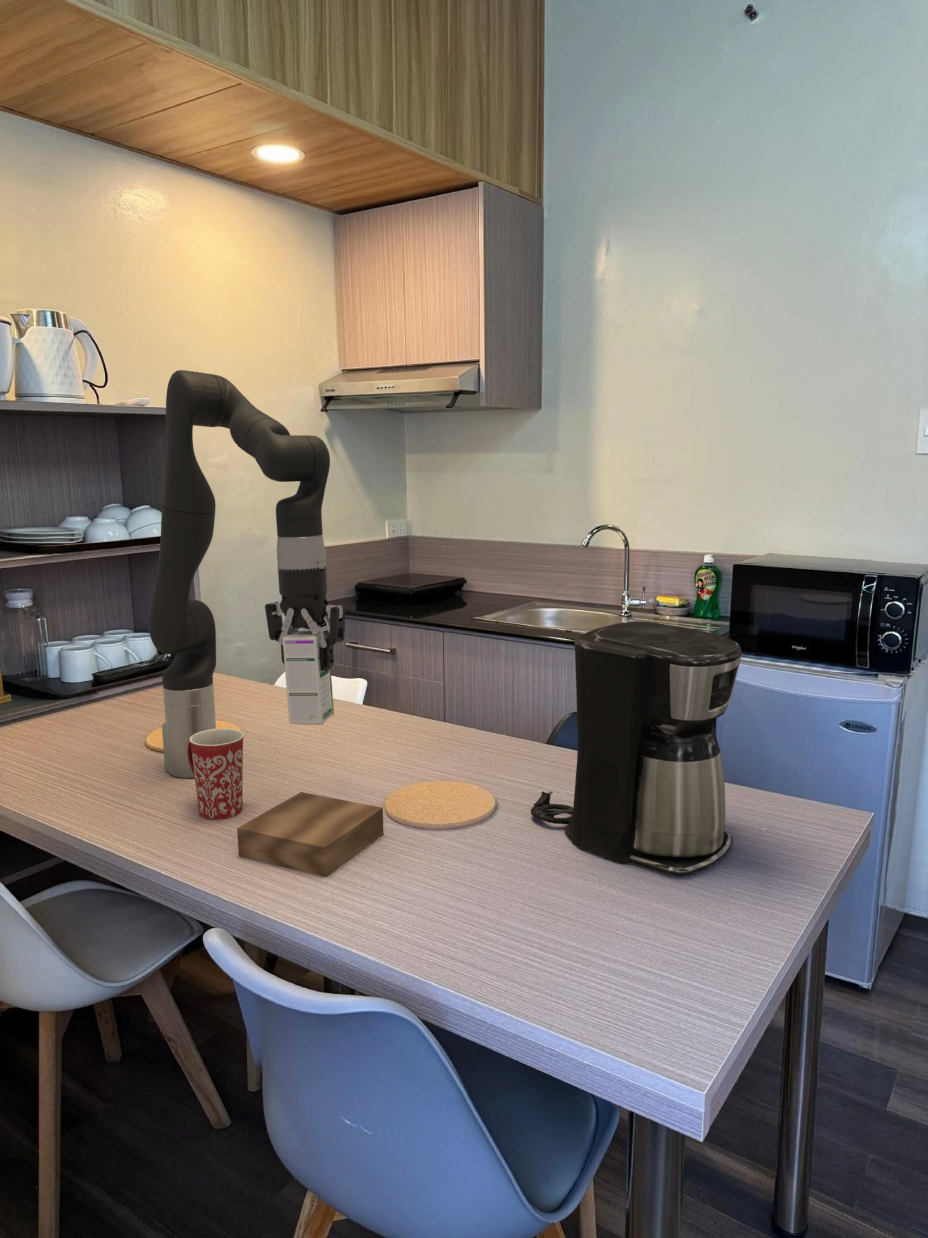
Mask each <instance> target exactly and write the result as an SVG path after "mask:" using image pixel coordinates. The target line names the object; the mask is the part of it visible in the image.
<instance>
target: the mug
mask: <svg viewBox="0 0 928 1238" xmlns="http://www.w3.org/2000/svg"><path fill="white" fill-rule="evenodd" d="M244 738H245V733H244V732H243V731H241V730H238V729H234V728H216V729H211V730H206V731H202V732H198V733H196V734H194V735H192V736H191V737H190V739H189V743H188V749H187V752H188V759H189V764H190V767H191V770H192V772H193V775H194V777H193V778H194V783H195V788H196V789H195V791H196V799H197V811H198V813H199V816H201V817H202V818H205V819H207V820H222V819H228V818H232V817H235V816H237V815H239V814H240V813H241V812H242V811H243V804H244V802H243V799H244V797H243V796H244V795H243V784H244V783H243V782H244V780H243V779H244V777H243V774H244V773H243V772H244V769H243V768H244Z"/></svg>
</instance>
